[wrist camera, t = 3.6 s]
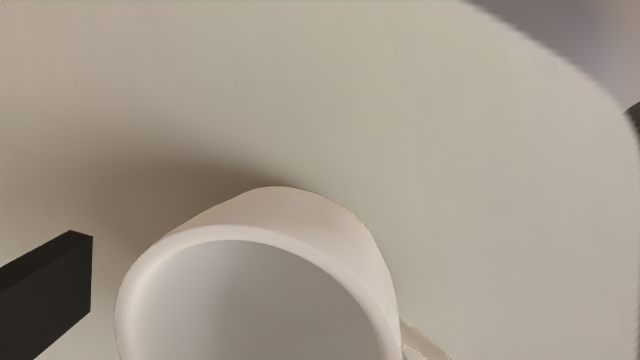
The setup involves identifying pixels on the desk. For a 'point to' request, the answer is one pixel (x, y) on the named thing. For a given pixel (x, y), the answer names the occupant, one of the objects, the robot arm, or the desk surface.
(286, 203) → the teacup
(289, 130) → the desk surface
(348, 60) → the desk surface
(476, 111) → the desk surface
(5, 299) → the robot arm
